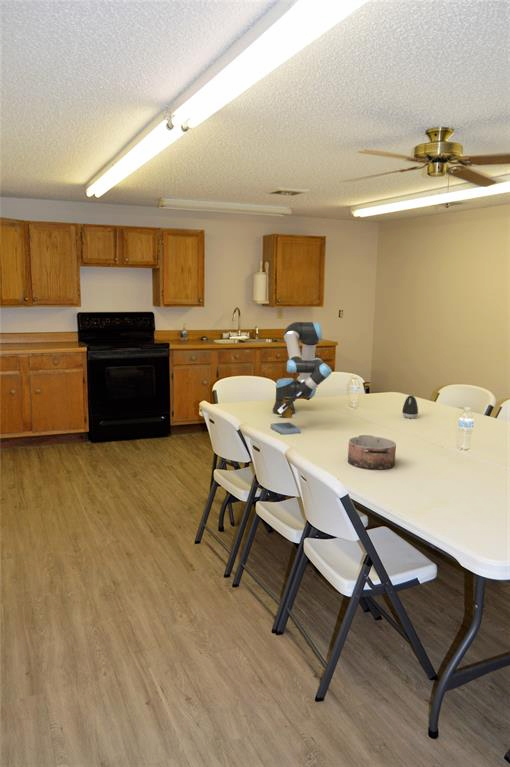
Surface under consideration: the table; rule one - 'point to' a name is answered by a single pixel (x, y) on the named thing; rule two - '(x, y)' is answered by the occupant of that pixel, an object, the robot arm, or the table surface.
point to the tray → (285, 428)
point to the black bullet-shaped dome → (410, 407)
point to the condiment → (288, 411)
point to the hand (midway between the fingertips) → (280, 410)
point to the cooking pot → (371, 452)
